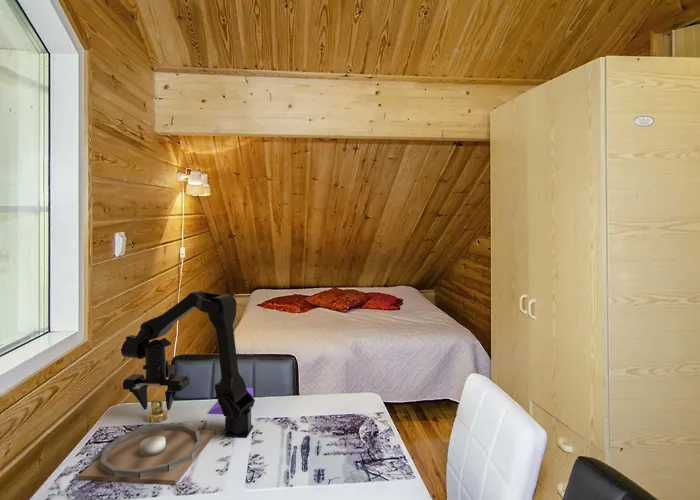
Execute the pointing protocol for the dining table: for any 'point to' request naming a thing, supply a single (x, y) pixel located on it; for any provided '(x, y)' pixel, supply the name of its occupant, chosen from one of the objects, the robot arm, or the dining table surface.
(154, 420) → the gear
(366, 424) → the dining table surface
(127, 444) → the carrier
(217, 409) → the bracket
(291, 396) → the dining table surface
